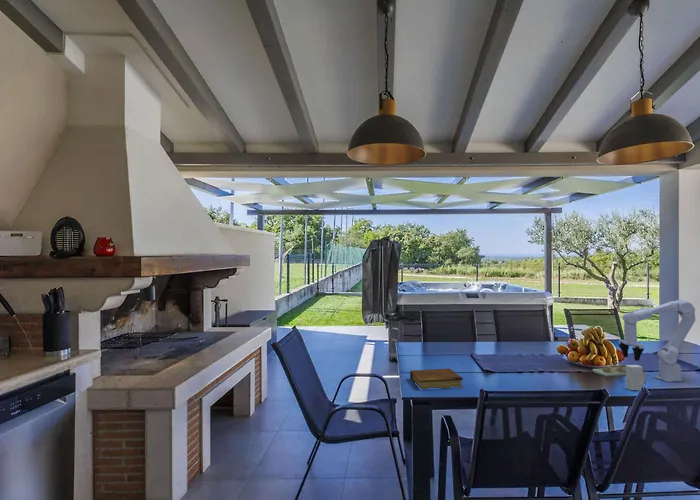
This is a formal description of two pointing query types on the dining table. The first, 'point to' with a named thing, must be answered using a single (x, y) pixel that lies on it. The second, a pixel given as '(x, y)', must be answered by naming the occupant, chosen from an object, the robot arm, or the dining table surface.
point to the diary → (436, 378)
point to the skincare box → (634, 377)
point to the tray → (599, 371)
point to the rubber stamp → (644, 378)
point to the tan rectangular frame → (614, 369)
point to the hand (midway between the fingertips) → (631, 358)
